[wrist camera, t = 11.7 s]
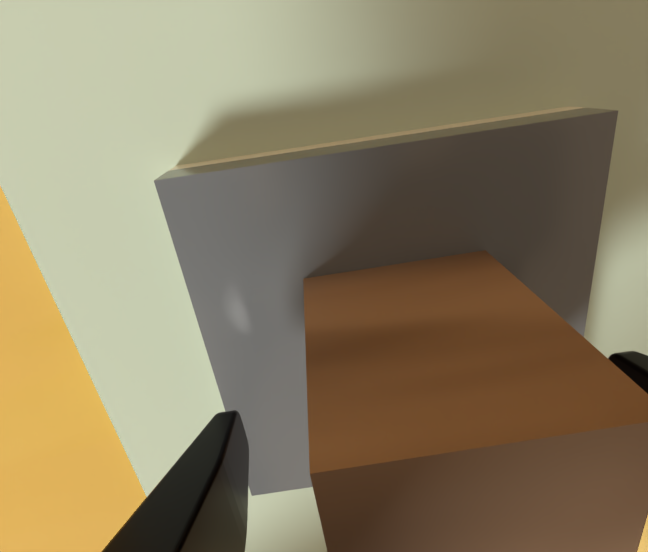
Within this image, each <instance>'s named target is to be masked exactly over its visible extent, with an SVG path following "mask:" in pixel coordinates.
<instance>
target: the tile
mask: <svg viewBox="0 0 648 552" xmlns="http://www.w3.org/2000/svg"><path fill="white" fill-rule="evenodd" d="M617 116H618V110H607V109H596V108H584V107H572V106H567V107H561V108H554V109H547V110H541V111H534V112H528V113H521V114H514V115H508V116H501V117H494V118H488V119H481V120H475V121H468V122H461V123H455V124H448V125H442V126H435V127H428V128H422V129H415V130H408V131H402V132H395V133H389V134H382V135H375V136H369V137H362V138H356V139H349V140H342V141H336V142H329V143H322V144H316V145H309V146H303V147H296V148H289V149H283V150H276V151H270V152H263V153H256V154H250V155H243V156H236V157H230V158H223V159H217V160H210V161H203V162H197V163H190V164H184V165H177V166H174V167H173V168H171V169H170V170H169V171H167V172H166V173H164V174H163V175H161V176H160V177H158V178H157V179H155V180H154V183H155V187H156V190H157V193H158V196H159V199H160V203H161V206H162V209H163V212H164V215H165V219H166V222H167V225H168V228H169V232H170V235H171V238H172V241H173V244H174V248H175V251H176V254H177V257H178V260H179V264H180V267H181V270H182V273H183V277H184V280H185V283H186V286H187V289H188V293H189V296H190V299H191V302H192V305H193V309H194V312H195V315H196V318H197V322H198V325H199V328H200V331H201V334H202V338H203V341H204V344H205V347H206V350H207V354H208V357H209V360H210V363H211V367H212V370H213V373H214V376H215V379H216V383H217V386H218V389H219V392H220V396H221V399H222V402H223V405H224V408H225V411H232V410H236V411H238V412H239V414H240V416H241V419H242V422H243V426H244V429H245V433H246V436H247V439H248V444H249V479H248V486H249V489H250V492H251V495H252V496H255V495H261V494H268V493H275V492H282V491H289V490H295V489H302V488H309V487H313V486H312V482H311V477H310V467H309V437H308V407H307V377H306V347H305V317H304V286H303V279H305V278H311V277H317V276H324V275H330V274H337V273H343V272H349V271H356V270H362V269H369V268H375V267H381V266H388V265H394V264H400V263H407V262H413V261H420V260H426V259H432V258H439V257H445V256H452V255H458V254H464V253H471V252H477V251H484V250H486V251H487V252H488V253H489V254H490V255H491V256H493V257H494V258H495V259H496V260H497V261H498V262H499V263H501V264H502V265H503V266H504V267H505V268H506V269H507V270H508V271H510V272H511V273H512V274H513V275H514V276H515V277H516V278H517V279H519V280H520V281H521V282H522V283H523V284H524V285H525V286H526V287H528V288H529V289H530V290H531V291H532V292H533V293H534V294H536V295H537V296H538V297H539V298H540V299H541V300H542V301H543V302H545V303H546V304H547V305H548V306H549V307H550V308H551V309H552V310H554V311H555V312H556V313H557V314H558V315H559V316H560V317H562V318H563V319H564V320H565V321H566V322H567V323H568V324H569V325H571V326H572V327H573V328H574V329H575V330H576V331H577V332H578V333H580V334H581V335H582V336H583V337H584V332H585V326H586V319H587V313H588V306H589V300H590V293H591V287H592V280H593V273H594V267H595V260H596V254H597V247H598V241H599V234H600V228H601V221H602V215H603V208H604V201H605V195H606V188H607V182H608V175H609V169H610V162H611V156H612V149H613V143H614V136H615V129H616V123H617Z"/></svg>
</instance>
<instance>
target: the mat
mask: <svg viewBox="0 0 648 552" xmlns="http://www.w3.org/2000/svg"><path fill="white" fill-rule="evenodd" d="M567 106H572V107H584V108H596V109H607V110H618V116H617V123H616V129H615V136H614V143H613V149H612V156H611V162H610V169H609V175H608V182H607V188H606V195H605V201H604V208H603V215H602V221H601V228H600V234H599V241H598V247H597V254H596V260H595V267H594V273H593V280H592V287H591V293H590V300H589V306H588V313H587V319H586V326H585V332H584V338H585V339H586V340H587V341H589V342H590V343H591V344H592V345H593V346H594V347H595V348H597V349H598V350H599V351H600V352H601V353H602V354H603V355H604V356H606V357H607V358H609V356H610V355H611V354H614V353H619V352H626V351H636V352H639V353H642V354H645V355H647V356H648V0H0V186H1V188H2V190H3V192H4V194H5V196H6V198H7V200H8V203H9V205H10V207H11V209H12V211H13V213H14V215H15V217H16V220H17V222H18V224H19V226H20V228H21V230H22V232H23V235H24V237H25V239H26V241H27V243H28V245H29V247H30V249H31V252H32V254H33V256H34V258H35V260H36V262H37V264H38V266H39V269H40V271H41V273H42V275H43V277H44V279H45V281H46V283H47V286H48V288H49V290H50V292H51V294H52V296H53V298H54V301H55V303H56V305H57V307H58V309H59V311H60V313H61V315H62V318H63V320H64V322H65V324H66V326H67V328H68V330H69V332H70V335H71V337H72V339H73V341H74V343H75V345H76V347H77V349H78V352H79V354H80V356H81V358H82V360H83V362H84V364H85V366H86V369H87V371H88V373H89V375H90V377H91V379H92V381H93V384H94V386H95V388H96V390H97V392H98V394H99V396H100V398H101V401H102V403H103V405H104V407H105V409H106V411H107V413H108V415H109V418H110V420H111V422H112V424H113V426H114V428H115V430H116V432H117V435H118V437H119V439H120V441H121V443H122V445H123V447H124V449H125V452H126V454H127V456H128V458H129V460H130V462H131V464H132V467H133V469H134V471H135V473H136V475H137V477H138V479H139V481H140V484H141V486H142V488H143V490H144V492H145V494H146V496H148V495H149V494H150V493H151V492H152V490H153V489H154V488H155V487H156V486H157V484H158V483H159V482H160V481H161V479H162V478H163V477H164V476H165V475H166V473H167V472H168V471H169V470H170V469H171V467H172V466H173V465H174V464H175V463H176V461H177V460H178V459H179V458H180V457H181V455H182V454H183V453H184V452H185V450H186V449H187V448H188V447H189V446H190V444H191V443H192V442H193V441H194V440H195V438H196V437H197V436H198V435H199V434H200V432H201V431H202V430H203V429H204V428H205V426H206V425H207V424H208V423H209V421H210V420H211V419H212V418H213V417H214V416H215V415H216V414H217V413H219V412H225V408H224V405H223V402H222V399H221V396H220V392H219V389H218V386H217V383H216V379H215V376H214V373H213V370H212V367H211V363H210V360H209V357H208V354H207V350H206V347H205V344H204V341H203V338H202V334H201V331H200V328H199V325H198V322H197V318H196V315H195V312H194V309H193V305H192V302H191V299H190V296H189V293H188V289H187V286H186V283H185V280H184V277H183V273H182V270H181V267H180V264H179V260H178V257H177V254H176V251H175V248H174V244H173V241H172V238H171V235H170V232H169V228H168V225H167V222H166V219H165V215H164V212H163V209H162V206H161V203H160V199H159V196H158V193H157V190H156V187H155V183H154V180H155V179H157V178H158V177H160V176H161V175H163V174H164V173H166V172H167V171H169V170H170V169H171V168H173V167H174V166H177V165H184V164H190V163H197V162H203V161H210V160H217V159H223V158H230V157H236V156H243V155H250V154H256V153H263V152H270V151H276V150H283V149H289V148H296V147H303V146H309V145H316V144H322V143H329V142H336V141H342V140H349V139H356V138H362V137H369V136H375V135H382V134H389V133H395V132H402V131H408V130H415V129H422V128H428V127H435V126H442V125H448V124H455V123H461V122H468V121H475V120H481V119H488V118H494V117H501V116H508V115H514V114H521V113H528V112H534V111H541V110H547V109H554V108H561V107H567ZM245 552H327V548H326V543H325V539H324V535H323V530H322V526H321V521H320V517H319V513H318V508H317V504H316V499H315V495H314V491H313V487H309V488H302V489H295V490H289V491H282V492H275V493H268V494H261V495H255V496H252V495H251V492H250V489H249V486H248V517H247V536H246V546H245Z"/></svg>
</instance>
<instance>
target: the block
mask: <svg viewBox="0 0 648 552" xmlns="http://www.w3.org/2000/svg"><path fill="white" fill-rule="evenodd" d="M303 286H304V317H305V347H306V377H307V407H308V437H309V467H310V477H311V482H312V486H313V491H314V495H315V499H316V504H317V508H318V513H319V517H320V521H321V526H322V530H323V535H324V539H325V543H326V548H327V552H637V550H638V546H639V543H640V539H641V536H642V532H643V529H644V525H645V522H646V518H647V515H648V394H647V393H646V392H645V391H644V390H643V389H642V388H641V387H639V386H638V385H637V384H636V383H635V382H634V381H633V380H632V379H630V378H629V377H628V376H627V375H626V374H625V373H624V372H622V371H621V370H620V369H619V368H618V367H617V366H616V365H615V364H613V363H612V362H611V361H610V360H609V359H608V358H607V357H606V356H604V355H603V354H602V353H601V352H600V351H599V350H598V349H597V348H595V347H594V346H593V345H592V344H591V343H590V342H589V341H587V340H586V339H585V338H584V337H583V336H582V335H581V334H580V333H578V332H577V331H576V330H575V329H574V328H573V327H572V326H571V325H569V324H568V323H567V322H566V321H565V320H564V319H563V318H562V317H560V316H559V315H558V314H557V313H556V312H555V311H554V310H552V309H551V308H550V307H549V306H548V305H547V304H546V303H545V302H543V301H542V300H541V299H540V298H539V297H538V296H537V295H536V294H534V293H533V292H532V291H531V290H530V289H529V288H528V287H526V286H525V285H524V284H523V283H522V282H521V281H520V280H519V279H517V278H516V277H515V276H514V275H513V274H512V273H511V272H510V271H508V270H507V269H506V268H505V267H504V266H503V265H502V264H501V263H499V262H498V261H497V260H496V259H495V258H494V257H493V256H491V255H490V254H489V253H488V252H487V251H486V250H484V251H477V252H471V253H464V254H458V255H452V256H445V257H439V258H432V259H426V260H420V261H413V262H407V263H400V264H394V265H388V266H381V267H375V268H369V269H362V270H356V271H349V272H343V273H337V274H330V275H324V276H317V277H311V278H305V279H303Z"/></svg>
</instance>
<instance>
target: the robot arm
mask: <svg viewBox="0 0 648 552" xmlns="http://www.w3.org/2000/svg"><path fill="white" fill-rule="evenodd" d="M608 359H609V360H610V361H611V362H612V363H613V364H615V365H616V366H617V367H618V368H619V369H620V370H621V371H622V372H624V373H625V374H626V375H627V376H628V377H629V378H630V379H632V380H633V381H634V382H635V383H636V384H637V385H638V386H639V387H641V388H642V389H643V390H644V391H645V392H646V393H647V394H648V356H647V355H645V354H642V353H639V352H636V351H626V352H619V353H614V354H611V355H610V356H609V358H608ZM248 479H249V444H248V439H247V436H246V433H245V429H244V426H243V422H242V419H241V416H240V414H239V412H238V411H236V410H232V411H225V412H219V413H217V414H216V415H215V416H214V417H213V418H212V419H211V420H210V421H209V423H208V424H207V425H206V426H205V428H204V429H203V430H202V431H201V432H200V434H199V435H198V436H197V437H196V438H195V440H194V441H193V442H192V443H191V444H190V446H189V447H188V448H187V449H186V450H185V452H184V453H183V454H182V455H181V457H180V458H179V459H178V460H177V461H176V463H175V464H174V465H173V466H172V467H171V469H170V470H169V471H168V472H167V473H166V475H165V476H164V477H163V478H162V479H161V481H160V482H159V483H158V484H157V486H156V487H155V488H154V489H153V490H152V492H151V493H150V494H149V495H148V496H147V498H146V499H145V500H144V501H143V502H142V504H141V505H140V506H139V507H138V508H137V510H136V511H135V512H134V513H133V515H132V516H131V517H130V518H129V519H128V521H127V522H126V523H125V524H124V525H123V527H122V528H121V529H120V530H119V531H118V533H117V534H116V535H115V536H114V538H113V539H112V540H111V541H110V542H109V544H108V545H107V546H106V547H105V548H104V550H103V551H102V552H245V546H246V536H247V517H248Z"/></svg>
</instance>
